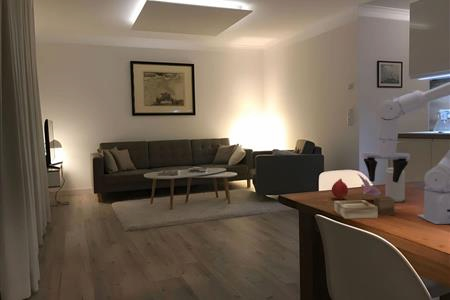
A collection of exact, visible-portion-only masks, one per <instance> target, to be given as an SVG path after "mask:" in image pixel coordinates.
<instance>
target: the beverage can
mask: <svg viewBox="0 0 450 300" xmlns="http://www.w3.org/2000/svg"><path fill="white" fill-rule="evenodd" d="M405 178H406V172H405V168H404V169H403V171H402V173H401V175H400V178H399V180H398V183H396V182H393V167H387V168H386V170H385V195H384V196H388V197H391V198H393V199H394V203H401V202H403V201H405V194H406V193H405V192H406V191H405V190H406V187H405V183H406V181H405V180H406V179H405Z"/></svg>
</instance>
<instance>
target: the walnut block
mask: <svg viewBox="0 0 450 300" xmlns="http://www.w3.org/2000/svg"><path fill="white" fill-rule="evenodd" d="M377 196H378V197H374V198H373V205H375V206H376V207H378V215H380V216H393V215H395V202H394V199H393V198H391V197H388V196H385V195H384V196H383V195H381V196H379V195H377Z"/></svg>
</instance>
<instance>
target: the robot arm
mask: <svg viewBox="0 0 450 300" xmlns="http://www.w3.org/2000/svg"><path fill="white" fill-rule="evenodd" d="M448 96H450V81H449V82H446V83H444V84H441V85H438V86H436V87H434V88H431V89H429V90H426V91H422V90H419V89H417V90H414V89H411V90H409V91H408V93H407V94H404V95H402V96H399V97H398V96H394V97H393V98H392V100H390V99H387V100H385V101H382V103H380V104H379V106H378V109H377V112H378V115H379V122H378V129H377V130H378V131H377V141H376V142H377V143H376V151H362V153H361V158H362V159H363V162H364V164H365V167H366V169H367V173H368V179H369V181H368V182H371V183H373V182H375V179H376V178H375V177H376V169H377V165H378V161H377V159H378V160H392V163H393V164H392V165H393V166H392V168H393V182H396V183H398V180H399V178H400V175H401V173H402V171H403V169H404V170H405V168H406V167H407V165H408V164H409V163H408V161H410V159H411V154H410V153H403V152H397V146H398V137H399V127H400V126H399V119H400V117H401V116H405V115H409V114H411V113H414V112H417V111H420V110H422V109H426V107H427V105H428V104H429V103H430V102H432V101H435V100H439V99H442V98H445V97H448ZM423 181H424V184H425V186H424V192H423V194H424V196H423V199H424V201H423V214H422V213H421V214H420V213H419V214H417V216H418V217H419V218H421V219H423V220H426V221H428V222H430V223H432V224H435V225H448V224H449V225H450V149H449V150H448V151H447V153H446V154H445V155H444V156H443V157H442V159H441V160H440V161H439V162H438V163H437V165H436V166H434V167H432V168H431V169H429V170H428V171H426V173H425V174H424V177H423Z"/></svg>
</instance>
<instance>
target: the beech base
mask: <svg viewBox="0 0 450 300" xmlns="http://www.w3.org/2000/svg"><path fill="white" fill-rule="evenodd" d="M333 205H334V206H333V209H334V212H336V214H338V215H339V216H341V217H342V218H344V219H345V220H347V219H348V220H349V219H350V220H351V219H378V215H379V214H378V207H376V206H375V205H374V203H373V204H372V203H371V202H368V201H367V200H365V199H364V200H363V199H360V200H359V199H358V200H356V199H355V200H334V203H333Z"/></svg>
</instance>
